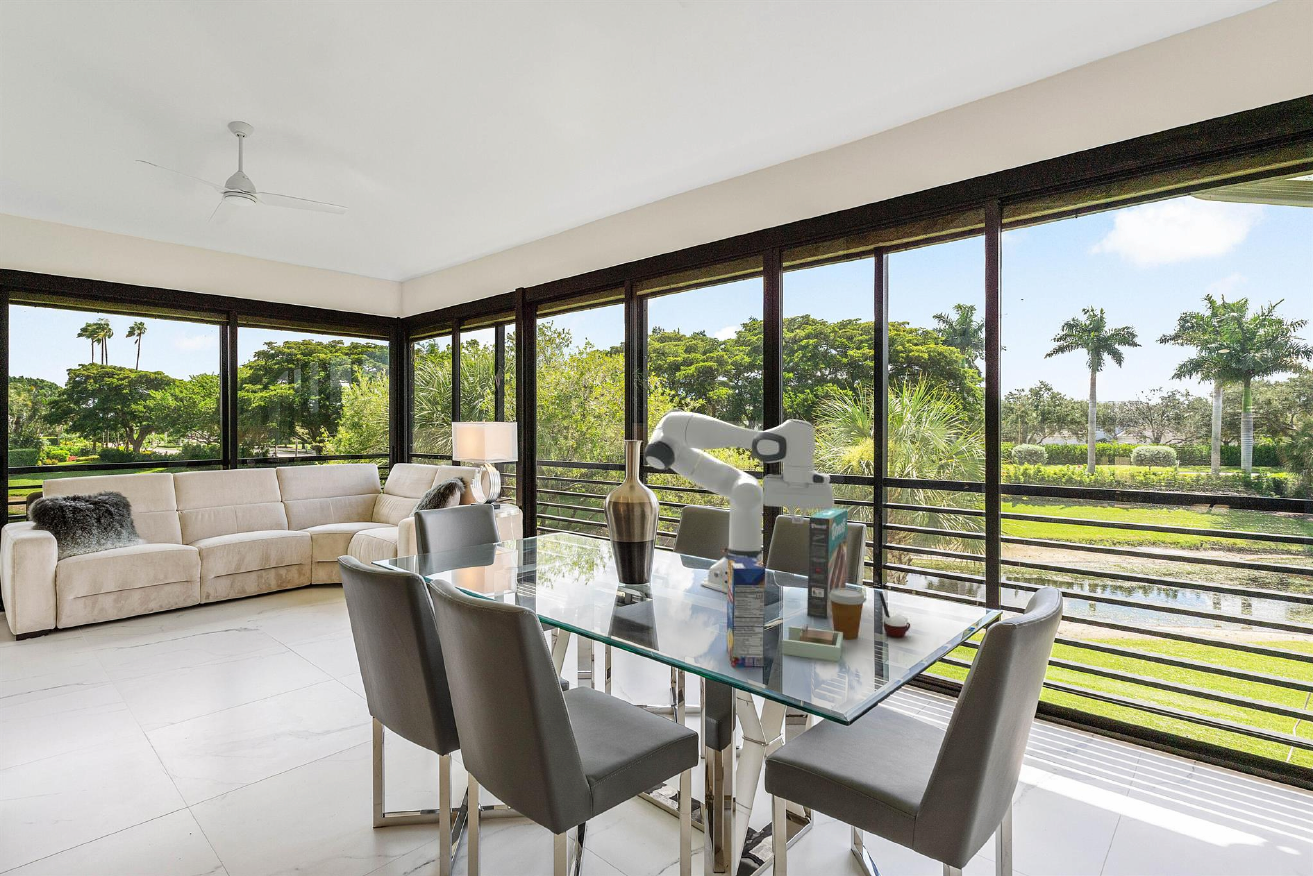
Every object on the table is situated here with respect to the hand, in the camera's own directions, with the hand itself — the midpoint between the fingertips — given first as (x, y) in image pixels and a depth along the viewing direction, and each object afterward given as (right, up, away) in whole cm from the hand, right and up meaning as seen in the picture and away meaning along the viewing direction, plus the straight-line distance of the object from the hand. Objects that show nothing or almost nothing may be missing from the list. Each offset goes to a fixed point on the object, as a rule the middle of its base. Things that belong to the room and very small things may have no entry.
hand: (797, 523), depth 190 cm
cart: (0, -30, -21) cm, 37 cm away
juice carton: (-19, -30, -27) cm, 45 cm away
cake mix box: (+13, -29, +15) cm, 35 cm away
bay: (0, -30, -21) cm, 36 cm away
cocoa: (+25, -30, -9) cm, 40 cm away
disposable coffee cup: (+11, -30, -10) cm, 33 cm away
